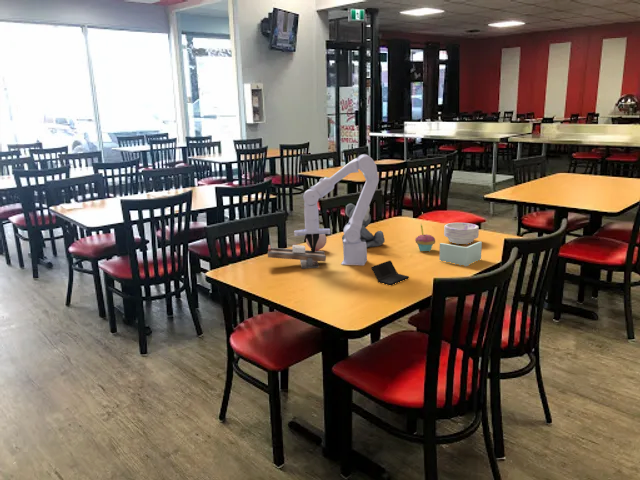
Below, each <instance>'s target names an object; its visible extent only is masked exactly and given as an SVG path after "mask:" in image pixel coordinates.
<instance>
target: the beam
mask: <svg viewBox="0 0 640 480" xmlns="http://www.w3.org/2000/svg"><path fill="white" fill-rule="evenodd" d="M267 250H268V251H267V258H268V259H269V258H270V259H271V258H272V259H285V260H297V261H298V260H299V261H300V260H307V258H312V261H318V262H327V261H326V260H327V256H326V255H325V254H326V253H325V251H320V250H318V251H315V253H312V252H311V250H308V249H307V250H306V249H305V254H297V253H292V248H279V247H272V246H271V244H268V248H267Z"/></svg>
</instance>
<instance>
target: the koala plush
mask: <svg viewBox="0 0 640 480" xmlns="http://www.w3.org/2000/svg"><path fill="white" fill-rule="evenodd" d="M355 207H356V205H355V204H353V203H348V204H347V205H345V213H344V214H345V215H346V216H347V217H348V218H349V219H348V221H349V220H350V218H351V217H352V215H353V212H354V210H355ZM370 207H371V206H370V205H369V207H368V209H367V212H366V214H365V217H364V219H363V222H362V228H361V230H360V239H361V241H362V242H366V245H367V248H370V247H371V248H372V247H373V248H374V247H379V246H382V245H384V243H385V235H384V232H383V231H382V230H377V231H376V232H374V234H373V233H372V232H370V231H369V230H368V229H367V227H368V226H369V225H370V223H371V220H372V218H371V217H372V216H371V214H370V211H371V210H370V209H371V208H370ZM344 239H345V235H344V234H343V235H342V236H341V240H342V241H341V242H343V240H344Z"/></svg>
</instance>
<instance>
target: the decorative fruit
mask: <svg viewBox="0 0 640 480" xmlns="http://www.w3.org/2000/svg"><path fill="white" fill-rule="evenodd" d="M305 238H306V237H305ZM305 241H306V245H307V246H308V247H309V248H310V249H311V247H310V244H309V242H308V240H307V238H306V239H305ZM327 241H328V240H327V236H326V234H319V239H318V241H317V244H316V248H315V251H320V250H321V249H323V248H324V247H325V246H326V244H327ZM312 242H313V235H312Z"/></svg>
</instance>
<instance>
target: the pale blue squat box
mask: <svg viewBox="0 0 640 480" xmlns="http://www.w3.org/2000/svg"><path fill="white" fill-rule="evenodd" d="M482 244H483V243H482V241H478V242H475V243H473V244H469V245H467V246H463V245H462V246H461V245H457V244H450V243H449V244H448V243H443V242H440V243H439V256H438V257H439V260H441V261H446V262H451V263H455V264H454V265H456V264H459V265H458V266H461V265H464V266H463V267H468V266H470V265H469V264H471V263H473V262H475V261H477V262H478V260H479V261H480V259H481V260H482V248H483V247H482V246H483V245H482ZM441 261H440V262H441ZM446 262H445V263H446ZM451 263H450V264H451ZM475 263H476V262H475ZM473 264H474V263H473ZM471 265H472V264H471Z"/></svg>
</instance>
